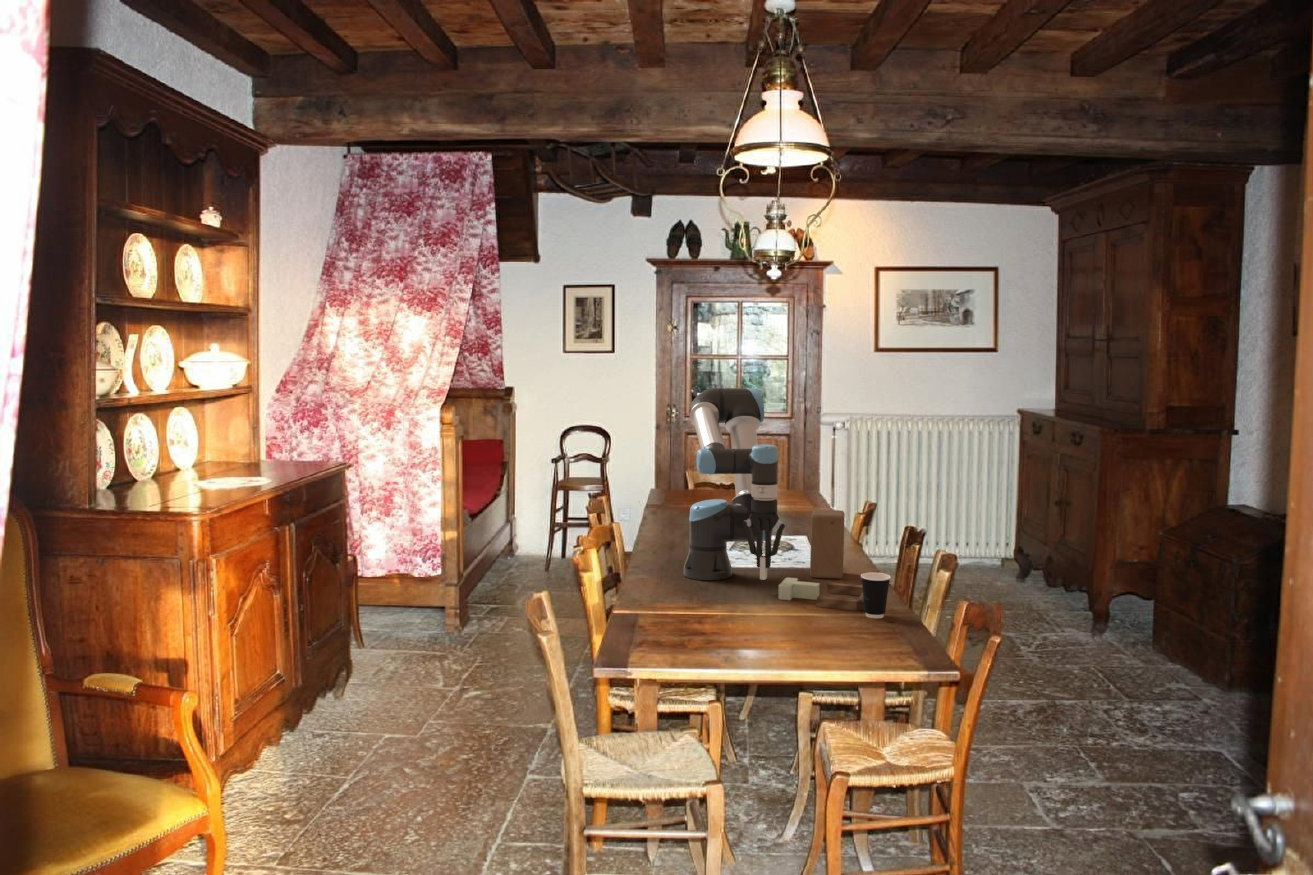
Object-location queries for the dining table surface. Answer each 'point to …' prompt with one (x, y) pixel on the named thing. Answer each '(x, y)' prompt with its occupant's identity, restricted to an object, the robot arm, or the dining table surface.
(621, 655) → the dining table surface
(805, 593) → the t block
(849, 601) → the brown stepped flat base
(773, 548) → the robot arm
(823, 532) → the wooden block
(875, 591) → the dixie cup
